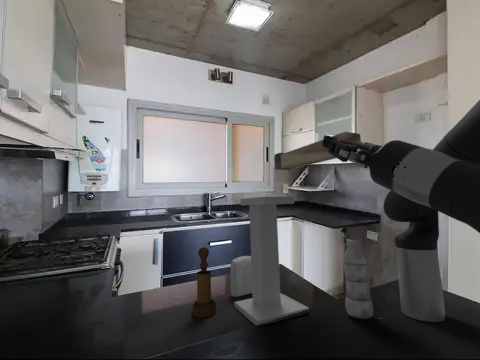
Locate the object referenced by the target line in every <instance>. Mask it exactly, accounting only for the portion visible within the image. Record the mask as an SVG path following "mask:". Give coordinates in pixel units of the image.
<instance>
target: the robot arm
mask: <svg viewBox="0 0 480 360" xmlns="http://www.w3.org/2000/svg"><path fill="white" fill-rule="evenodd" d="M470 108H471V109H469V110H468V112H466V113H465V115H463V117H462V118H461V119H460V120H458V122H457V123H456V124H455V125H454V126H453V127H452V128H451V129H450V130H449V131H448V132H447V133H446V134H445V135H444V136H443V137H442V139H441V140H440V141H439V142H438V143H437V144H436V145H435V146H434V148H433V149H430V148H426V147H425V146H424V147H423V146H420V145H417V144H413V143H410V142H407V141H403V140H398V139H395V140H394V139H393V140H390V141H388V142H386V143H385V144H383V145H379V144H374V143H372V142H367V141H366V142H363V141H361V143H359V142H356V141H348V142H346V141H343V140H342V139H336V138H334V137H332V135H331V136H330V135H328V134H326V135H324V136H323V138H322V140H323V142H322V146H324V147H326V148H328V149H329V151H328V153H330V154H331V155H333V156H334V157H336V158H335V159H337V160H339V161H341V162H342V163H347V162H350V163H354V164H356V166H358V167H360V168H363V169H369V175H370V179H371V180H372V182H374V184H377V185H379V186H381V187H384V188H385V189H387V190H389V191H388V193H387V194H386V196H385V198H384V201H383V212H384V214H385V215H386V217H387V218H388V219H390V220H391V221H394V222H398V223H409V224H408V227H407V228H406V230H404V231H402V232H401V233H399V234H397V235H395V237H394V244H395V245H394V247H395V254H396V255H395V257H396V265H397V277H398V286H399V298H400V299H399V300H400V307H401V309H400V310H401V313H402V314H404V315H405V316H407V317H409V318H411V319H415V320H417V321H422V322H427V323H428V322H429V323H440V322H443V321H445V319H446V307H445V301H444V300H445V298H444V291H443V290H444V289H443V282H442V278H441V270H440V262H439V252H438V241H439V237H440V227H439V226H440V224H439V223H440V222H439V213H441V214H443V215H444V216H445V215H446V216H447V217H449V218H452V219H454V220H456V221H458V222H461V223H463V224H465V225H468V226H469V227H471V228H472V229H474V230H475V231H476V232H478V233H479V234H480V99H479V100H478V101H477V102H476V103H475V104H474V105H473V106H472V107H470ZM354 145H356V146H355V148H354V149H353V147H354ZM352 150H353V151H352Z"/></svg>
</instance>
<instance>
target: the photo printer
mask: <svg viewBox="0 0 480 360" xmlns="http://www.w3.org/2000/svg"><path fill="white" fill-rule="evenodd" d="M230 293H231V297H234V298H238V297H242V296H245V295H249V294H251V295H252V269H251V255H250V256H249V255H242V256H239V257H236V258H234V259H233V260H232V261H231V262H230Z"/></svg>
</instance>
